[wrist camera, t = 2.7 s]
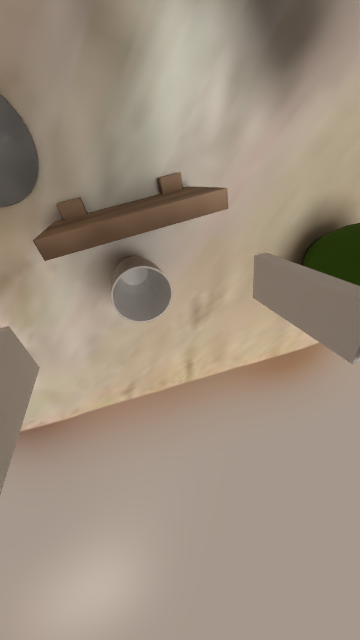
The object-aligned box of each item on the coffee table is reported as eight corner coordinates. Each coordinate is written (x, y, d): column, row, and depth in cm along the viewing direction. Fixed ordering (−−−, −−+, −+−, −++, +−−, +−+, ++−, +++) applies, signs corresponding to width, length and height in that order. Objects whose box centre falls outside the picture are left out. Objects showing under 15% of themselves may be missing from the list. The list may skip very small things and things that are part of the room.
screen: (46, 205, 28) (19, 217, 19) (186, 170, 31) (225, 165, 22) (68, 250, 32) (55, 279, 22) (193, 215, 35) (229, 227, 25)
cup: (148, 298, 40) (160, 327, 32) (103, 286, 36) (103, 315, 28) (163, 256, 37) (181, 277, 29) (116, 239, 33) (121, 257, 25)
